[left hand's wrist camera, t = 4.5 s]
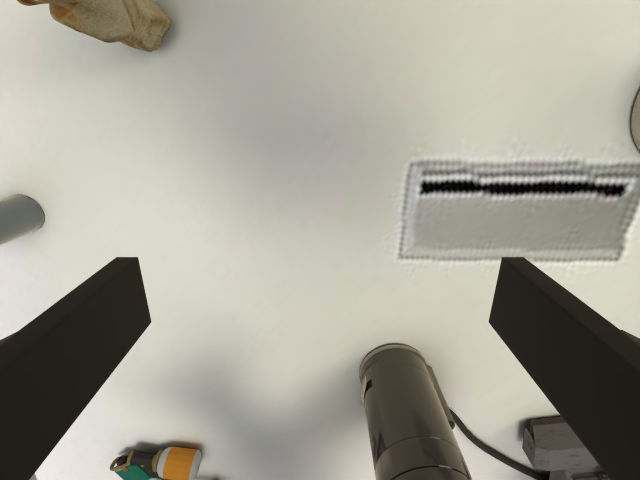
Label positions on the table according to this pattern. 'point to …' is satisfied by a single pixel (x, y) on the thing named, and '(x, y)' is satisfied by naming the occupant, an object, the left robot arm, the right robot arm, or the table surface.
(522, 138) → the table surface
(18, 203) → the bottle
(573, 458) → the toy
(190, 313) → the table surface
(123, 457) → the spray gun
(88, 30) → the sculpture
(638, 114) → the bust sculpture
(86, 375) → the left robot arm
